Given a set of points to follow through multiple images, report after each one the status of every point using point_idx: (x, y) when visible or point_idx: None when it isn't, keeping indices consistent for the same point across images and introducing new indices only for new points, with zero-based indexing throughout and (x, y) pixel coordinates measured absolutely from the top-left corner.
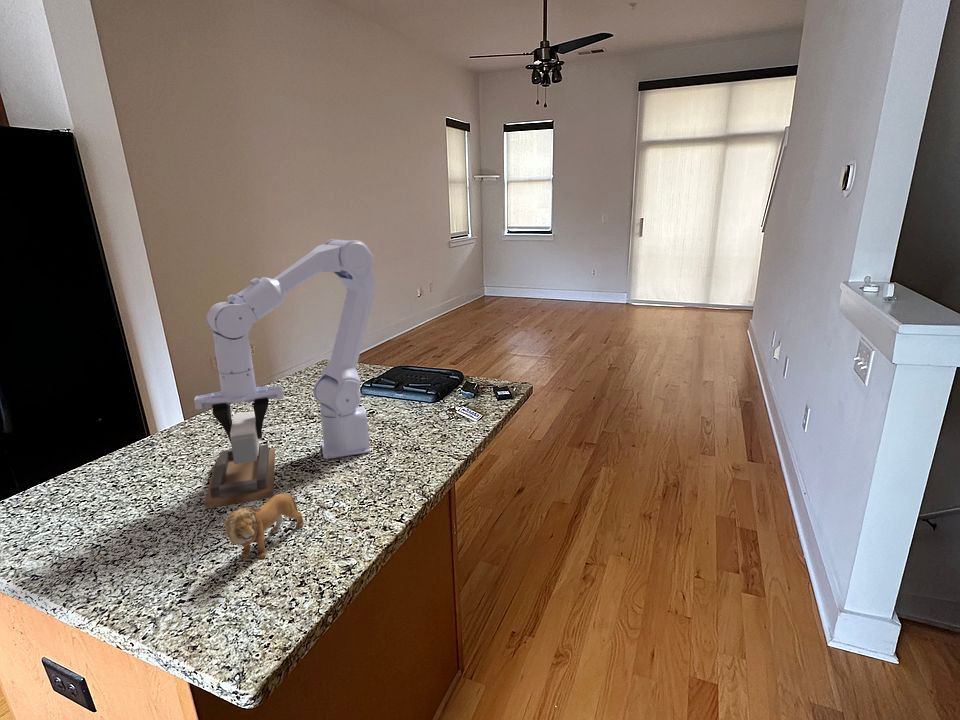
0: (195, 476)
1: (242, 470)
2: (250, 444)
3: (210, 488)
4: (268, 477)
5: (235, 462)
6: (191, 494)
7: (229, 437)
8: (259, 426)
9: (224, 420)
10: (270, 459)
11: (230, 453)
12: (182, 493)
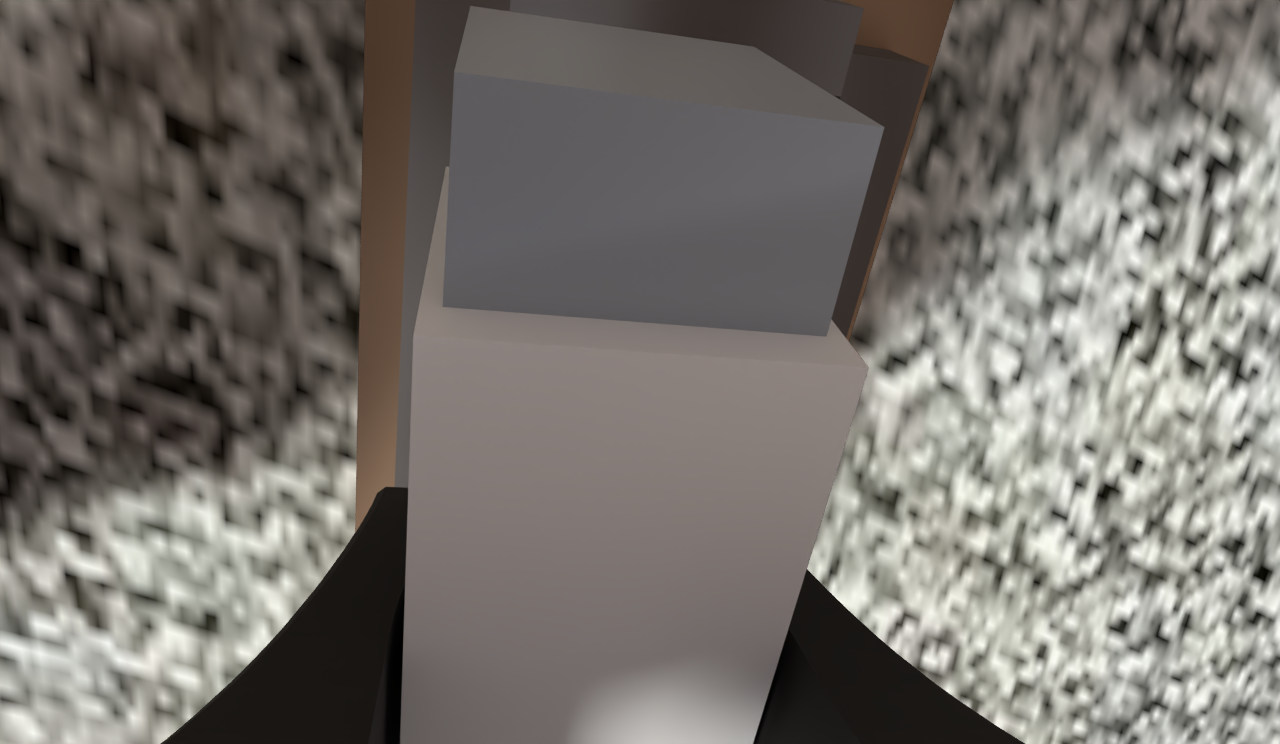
0: (888, 514)
1: None
2: (530, 56)
3: (923, 70)
4: (405, 194)
5: (744, 50)
6: (961, 280)
7: None
8: (352, 592)
9: (925, 734)
10: None
11: None
12: (1005, 322)
